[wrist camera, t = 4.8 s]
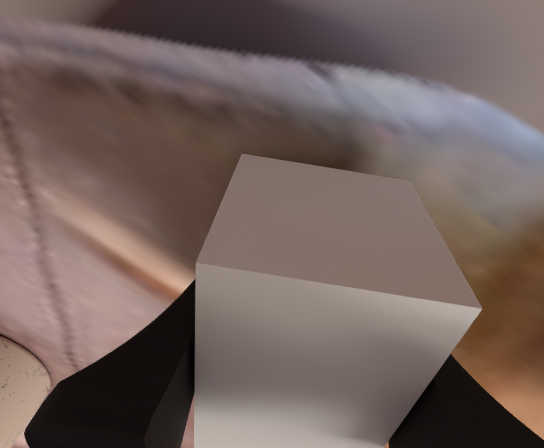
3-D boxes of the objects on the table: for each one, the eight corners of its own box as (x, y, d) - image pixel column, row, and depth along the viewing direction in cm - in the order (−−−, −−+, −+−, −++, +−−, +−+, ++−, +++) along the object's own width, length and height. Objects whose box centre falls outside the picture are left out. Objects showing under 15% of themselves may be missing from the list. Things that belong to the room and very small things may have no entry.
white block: (410, 180, 12) (482, 308, 7) (343, 344, 18) (358, 483, 13) (241, 153, 12) (195, 262, 7) (226, 325, 18) (194, 456, 13)
